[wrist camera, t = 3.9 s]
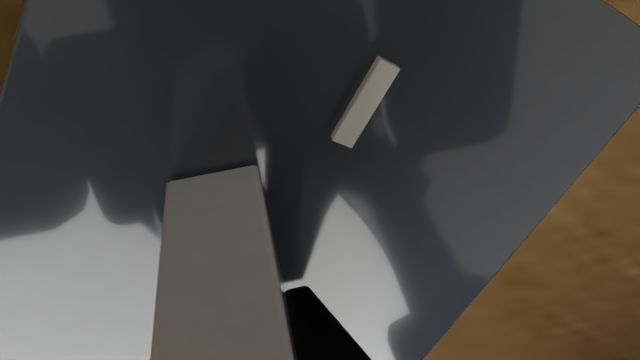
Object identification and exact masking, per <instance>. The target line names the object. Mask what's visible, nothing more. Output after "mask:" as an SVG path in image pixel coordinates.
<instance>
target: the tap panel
mask: <svg viewBox="0 0 640 360" xmlns="http://www.w3.org/2000/svg"><path fill="white" fill-rule="evenodd" d="M639 105H640V26H639V25H638V24H636V23H635V22H634V21H632V20H631V19H629V18H628V17H626V16H625V15H623V14H622V13H621V12H619V11H618V10H616V9H615V8H613V7H612V6H611V5H609V4H608V3H606V2H605V1H603V0H24V3H23V6H22V10H21V14H20V18H19V21H18V25H17V29H16V32H15V36H14V40H13V44H12V47H11V51H10V55H9V59H8V62H7V66H6V70H5V73H4V77H3V81H2V85H1V88H0V360H150V355H151V344H152V333H153V322H154V311H155V300H156V289H157V279H158V268H159V257H160V246H161V235H162V224H163V213H164V202H165V191H166V184H167V183H168V182H170V181H173V180H178V179H184V178H189V177H194V176H199V175H204V174H209V173H214V172H219V171H224V170H229V169H234V168H239V167H244V166H250V165H256V166H257V167H258V168H259V171H260V175H261V180H262V185H263V190H264V194H265V199H266V204H267V209H268V213H269V218H270V223H271V228H272V232H273V237H274V242H275V247H276V251H277V256H278V261H279V266H280V270H281V275H282V280H283V285H284V289H285V291H286V290H288V289H292V288H297V287H301V286H308V287H309V288H310V289H311V290H312V291H313V292H314V293H315V295H316V296H317V297H318V298H319V299H320V300H321V302H322V303H323V304H324V305H325V306H326V307H327V308H328V310H329V311H330V312H331V313H332V314H333V315H334V317H335V318H336V319H337V320H338V321H339V322H340V324H341V325H342V326H343V327H344V328H345V329H346V331H347V332H348V333H349V334H350V335H351V336H352V337H353V339H354V340H355V341H356V342H357V343H358V344H359V346H360V347H361V348H362V349H363V350H364V351H365V353H366V354H367V355H368V356H369V357H370V358H371V359H372V360H423V359H424V357H425V356H426V355H427V354H428V353H429V352H430V350H431V349H432V348H433V347H434V346H435V345H436V343H437V342H438V341H439V340H440V339H441V338H442V336H443V335H444V334H445V333H446V332H447V331H448V329H449V328H450V327H451V326H452V325H453V323H454V322H455V321H456V320H457V319H458V318H459V316H460V315H461V314H462V313H463V312H464V311H465V309H466V308H467V307H468V306H469V305H470V304H471V302H472V301H473V300H474V299H475V298H476V296H477V295H478V294H479V293H480V292H481V291H482V289H483V288H484V287H485V286H486V285H487V284H488V282H489V281H490V280H491V279H492V278H493V277H494V275H495V274H496V273H497V272H498V271H499V269H500V268H501V267H502V266H503V265H504V264H505V262H506V261H507V260H508V259H509V258H510V257H511V255H512V254H513V253H514V252H515V251H516V250H517V248H518V247H519V246H520V245H521V244H522V243H523V241H524V240H525V239H526V238H527V237H528V235H529V234H530V233H531V232H532V231H533V230H534V228H535V227H536V226H537V225H538V224H539V223H540V221H541V220H542V219H543V218H544V217H545V216H546V214H547V213H548V212H549V211H550V210H551V208H552V207H553V206H554V205H555V204H556V203H557V201H558V200H559V199H560V198H561V197H562V196H563V194H564V193H565V192H566V191H567V190H568V189H569V187H570V186H571V185H572V184H573V183H574V181H575V180H576V179H577V178H578V177H579V176H580V174H581V173H582V172H583V171H584V170H585V169H586V167H587V166H588V165H589V164H590V163H591V162H592V160H593V159H594V158H595V157H596V156H597V155H598V153H599V152H600V151H601V150H602V149H603V147H604V146H605V145H606V144H607V143H608V142H609V140H610V139H611V138H612V137H613V136H614V135H615V133H616V132H617V131H618V130H619V129H620V128H621V126H622V125H623V124H624V123H625V122H626V120H627V119H628V118H629V117H630V116H631V115H632V113H633V112H634V111H635V110H636V109H637V108H638V106H639Z"/></svg>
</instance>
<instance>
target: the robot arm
mask: <svg viewBox="0 0 640 360" xmlns="http://www.w3.org/2000/svg"><path fill="white" fill-rule="evenodd" d="M285 297H286V302H287V308H288V313H289V319H290V324H291V330H292V335H293V340H294V346H295V351H296V355H297V360H372V359H371V358H370V357H369V356H368V355H367V354H366V353H365V351H364V350H363V349H362V348H361V347H360V346H359V344H358V343H357V342H356V341H355V340H354V339H353V337H352V336H351V335H350V334H349V333H348V332H347V331H346V329H345V328H344V327H343V326H342V325H341V324H340V322H339V321H338V320H337V319H336V318H335V317H334V315H333V314H332V313H331V312H330V311H329V310H328V308H327V307H326V306H325V305H324V304H323V303H322V302H321V300H320V299H319V298H318V297H317V296H316V295H315V293H314V292H313V291H312V290H311V289H310V288H309V287H308V286H301V287H297V288H292V289H288V290H286V291H285Z"/></svg>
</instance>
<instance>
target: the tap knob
mask: <svg viewBox="0 0 640 360" xmlns="http://www.w3.org/2000/svg"><path fill="white" fill-rule="evenodd" d="M150 360H297V355H296V351H295V346H294V340H293V335H292V330H291V324H290V319H289V313H288V308H287V302H286V297H285V289H284V285H283V280H282V275H281V270H280V266H279V261H278V256H277V251H276V247H275V242H274V237H273V232H272V228H271V223H270V218H269V213H268V209H267V204H266V199H265V194H264V190H263V185H262V180H261V175H260V171H259V168H258V167H257V166H256V165H250V166H244V167H239V168H234V169H229V170H224V171H219V172H214V173H209V174H204V175H199V176H194V177H189V178H184V179H178V180H173V181H170V182H168V183H167V184H166V191H165V202H164V213H163V224H162V235H161V246H160V257H159V268H158V279H157V289H156V300H155V311H154V322H153V333H152V344H151V355H150Z"/></svg>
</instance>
